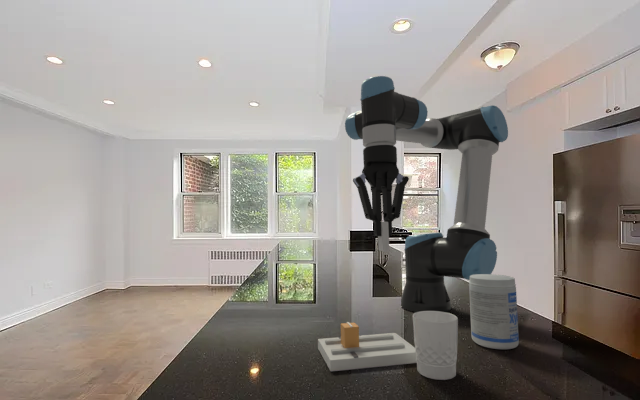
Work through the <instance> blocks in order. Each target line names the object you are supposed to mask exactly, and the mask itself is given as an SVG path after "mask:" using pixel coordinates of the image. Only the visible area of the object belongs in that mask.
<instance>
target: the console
mask: <svg viewBox="0 0 640 400" xmlns="http://www.w3.org/2000/svg"><path fill="white" fill-rule="evenodd" d="M317 349H318V351H319V353H320V355H321V356H322V359H323V360H324V362H325V365H326V366H327V367H328V369H329V371H330V372H338V371H349V370H359V369H370V368H378V367H379V368H380V367H388V366H397V365H398V366H400V365H407V364H408V365H409V364H417V356H416V353H415V346H414V345H412V344H411V343H410V342H408V341H407V340H406V339H404V338H403V337H402V336H400V335H399V334H398V333H396V332H389V333H387V332H386V333H377V334H362V335H359V347H353V348H344V346H343V345H342V344H341V335H340V336H337V337H327V338H326V337H325V338H318V339H317Z"/></svg>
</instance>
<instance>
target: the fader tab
mask: <svg viewBox="0 0 640 400" xmlns="http://www.w3.org/2000/svg"><path fill="white" fill-rule="evenodd" d="M340 336H341V344H342V345H343V346H344V348H353V347H359V336H360V327H359V325H358V324H357V323H355V322H349V321H346V322H344V323H340Z"/></svg>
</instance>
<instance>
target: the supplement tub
mask: <svg viewBox="0 0 640 400" xmlns="http://www.w3.org/2000/svg"><path fill="white" fill-rule="evenodd" d="M468 281H469V282H468V287H469V289H468V290H469V291H468V292H469V310H470V313H469V314H470V332H471V333H470V334H471V339H472V341H473V342H474V343H475V344H477V345H479V346H481V347H483V348H488V349H495V350H511V349H515V348H517V347H518V346H519V344H520V341H519V340H520V338H519V337H520V336H519V319H518V318H519V316H518V303H517V302H518V301H517V299H518V298H517V296H518V295H517V287H516V285H517V284H516V280H515V278H514V276H511V275H504V274H494V273H493V274H492V273H491V274H475V275H471V276H470V280H468Z"/></svg>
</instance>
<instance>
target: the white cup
mask: <svg viewBox="0 0 640 400" xmlns="http://www.w3.org/2000/svg"><path fill="white" fill-rule="evenodd" d="M412 323H413V325H412V327H413V340H414V342H413V343H414V347H415V353H416V356H417V363H416V371H417V372H418V374H419V375H422V376H423V377H424V378H428V379H432V380H436V381H437V380H439V381H446V380H451V379H454V378H455V377H456V376H457V360H458V341H459V340H458V338H459V337H458V335H459V334H458V333H459V331H458V328H459V325H458V324H459V319H458V316H456V315H455V314H452V313H450V312H440V311H420V312H414V313H413V314H412Z"/></svg>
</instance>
